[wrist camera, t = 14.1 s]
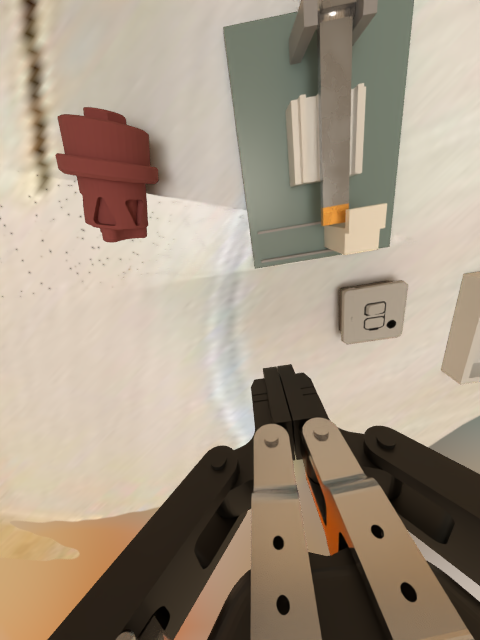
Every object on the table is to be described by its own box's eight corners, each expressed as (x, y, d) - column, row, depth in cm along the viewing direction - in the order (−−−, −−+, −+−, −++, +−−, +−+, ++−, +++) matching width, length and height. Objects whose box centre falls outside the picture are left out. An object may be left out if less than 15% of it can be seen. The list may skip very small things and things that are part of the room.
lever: (310, -33, 22) (318, -61, 19) (348, -41, 21) (361, -70, 19) (317, 225, 30) (324, 226, 28) (344, 221, 30) (353, 221, 28)
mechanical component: (169, 234, 35) (147, 251, 27) (99, 225, 35) (53, 240, 26) (166, 129, 29) (136, 107, 21) (81, 116, 29) (13, 88, 20)
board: (223, 33, 26) (220, -24, 20) (408, -5, 25) (467, -77, 19) (254, 267, 37) (259, 278, 31) (385, 245, 36) (417, 253, 30)
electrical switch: (403, 336, 38) (350, 350, 37) (379, 324, 43) (332, 336, 42) (411, 280, 35) (352, 293, 33) (384, 273, 39) (332, 284, 38)
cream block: (324, 209, 33) (349, 209, 26) (353, 204, 33) (387, 203, 26) (324, 247, 35) (348, 256, 28) (351, 242, 35) (383, 250, 28)
